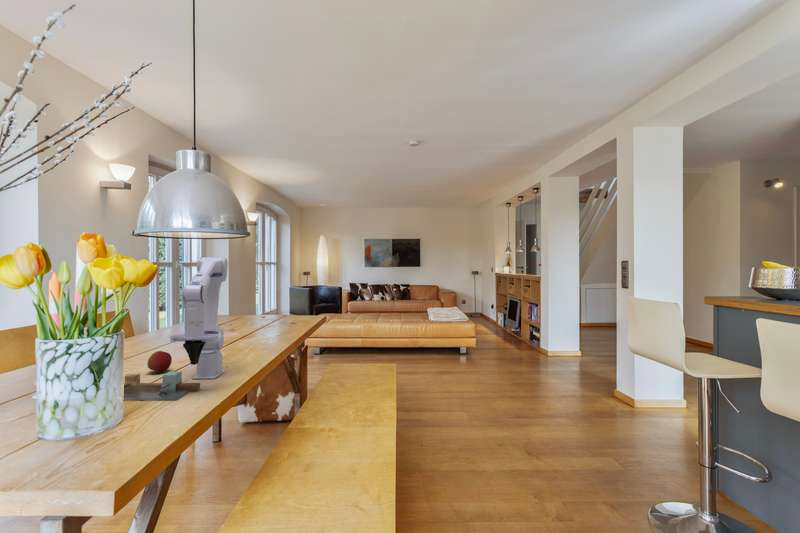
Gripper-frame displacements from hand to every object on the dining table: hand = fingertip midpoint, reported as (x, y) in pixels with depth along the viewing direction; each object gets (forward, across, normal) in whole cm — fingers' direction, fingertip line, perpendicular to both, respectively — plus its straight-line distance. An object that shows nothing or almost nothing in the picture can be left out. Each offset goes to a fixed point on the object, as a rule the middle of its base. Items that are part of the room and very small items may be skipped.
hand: (194, 363), depth 130 cm
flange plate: (+9, -12, -6) cm, 16 cm away
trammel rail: (+9, -11, -2) cm, 14 cm away
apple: (+9, -23, +21) cm, 33 cm away
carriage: (+8, -7, -2) cm, 11 cm away
